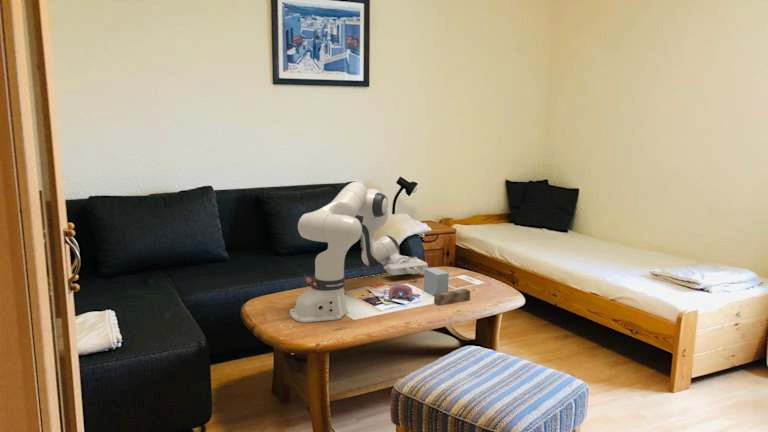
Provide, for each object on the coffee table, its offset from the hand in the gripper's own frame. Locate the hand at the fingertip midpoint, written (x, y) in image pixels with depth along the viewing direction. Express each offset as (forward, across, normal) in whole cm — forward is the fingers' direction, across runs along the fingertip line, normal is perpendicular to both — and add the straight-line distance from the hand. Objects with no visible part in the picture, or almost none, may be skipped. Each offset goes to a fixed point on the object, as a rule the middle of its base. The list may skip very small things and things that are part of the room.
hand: (415, 272), depth 263 cm
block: (+17, 0, +5) cm, 18 cm away
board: (+29, 0, +5) cm, 30 cm away
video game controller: (+17, -18, +5) cm, 25 cm away
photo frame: (+9, +19, +6) cm, 22 cm away
